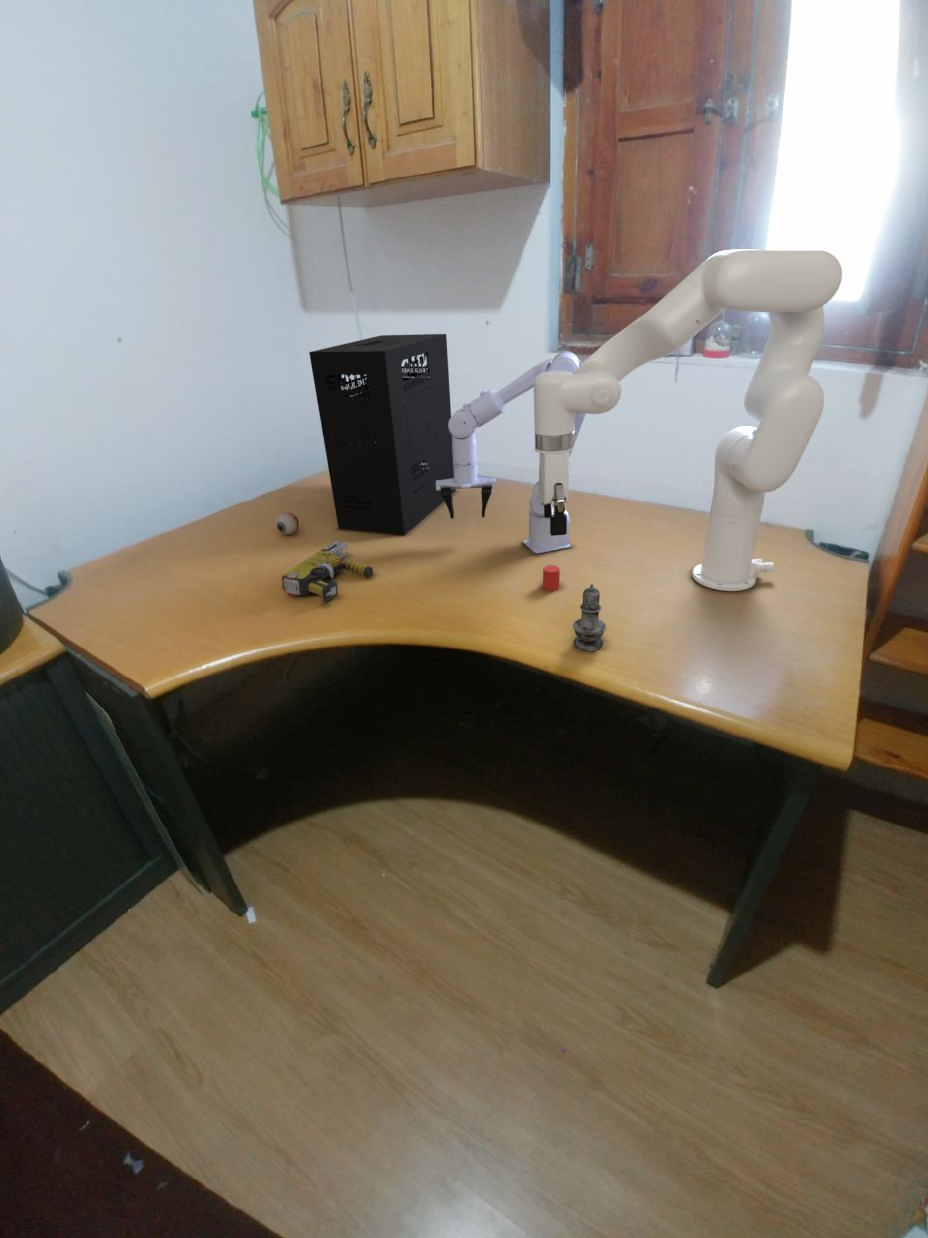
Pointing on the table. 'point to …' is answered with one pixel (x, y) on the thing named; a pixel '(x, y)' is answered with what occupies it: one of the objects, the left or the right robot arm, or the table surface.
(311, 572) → the toy gun
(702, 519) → the table surface
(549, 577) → the canister
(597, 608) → the grey tiered stone figure
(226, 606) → the table surface
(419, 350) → the cardboard box
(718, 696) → the table surface
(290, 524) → the eyeball
